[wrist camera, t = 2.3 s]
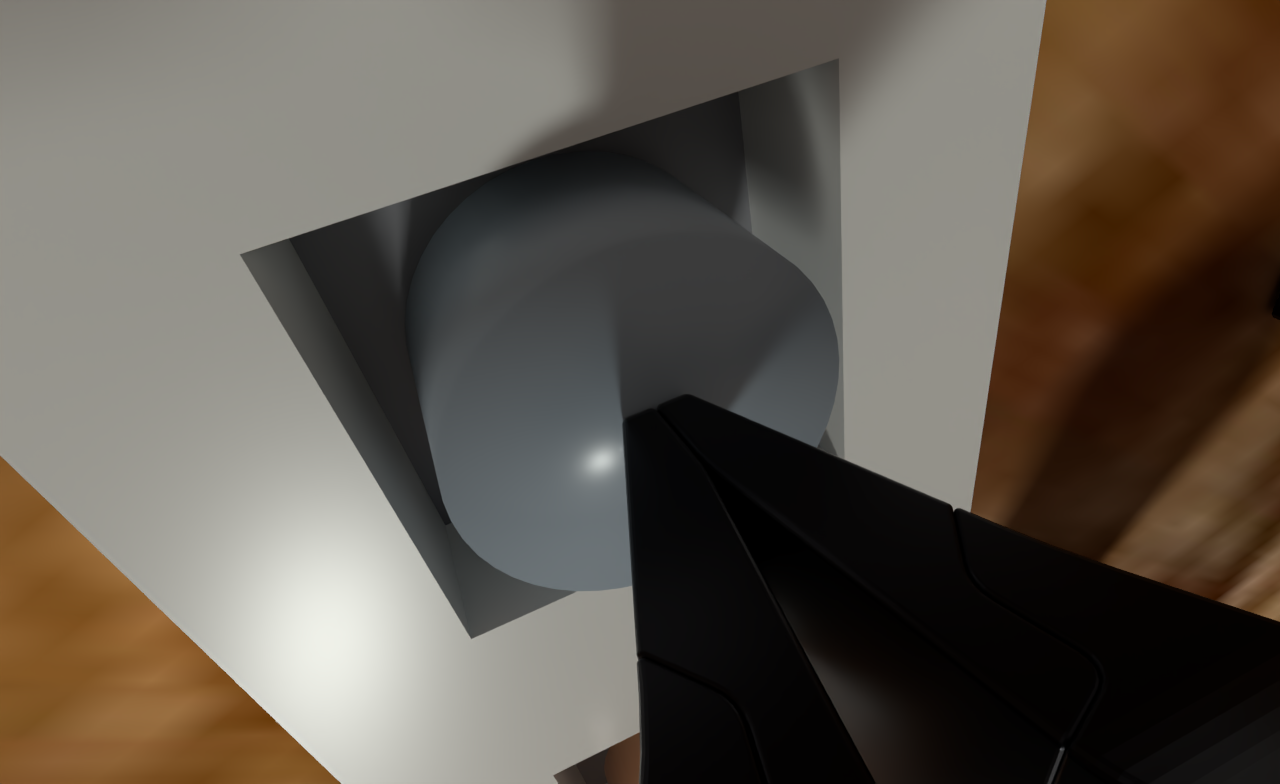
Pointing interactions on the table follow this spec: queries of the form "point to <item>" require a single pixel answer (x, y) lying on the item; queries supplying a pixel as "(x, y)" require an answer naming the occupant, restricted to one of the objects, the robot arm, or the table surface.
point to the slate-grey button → (595, 351)
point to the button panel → (377, 296)
